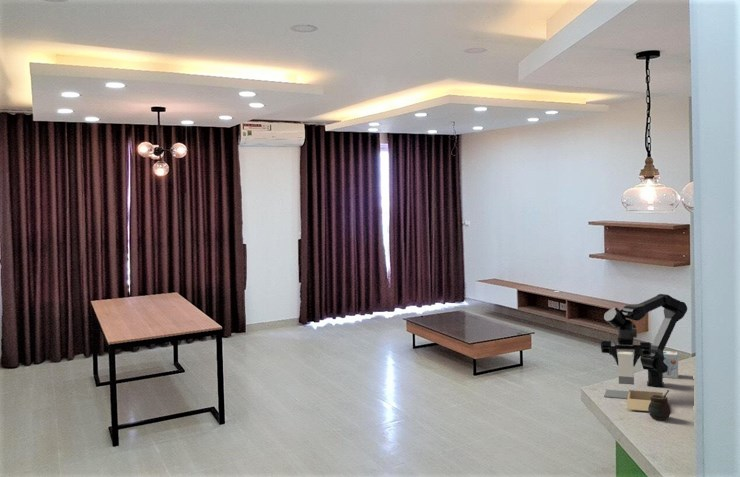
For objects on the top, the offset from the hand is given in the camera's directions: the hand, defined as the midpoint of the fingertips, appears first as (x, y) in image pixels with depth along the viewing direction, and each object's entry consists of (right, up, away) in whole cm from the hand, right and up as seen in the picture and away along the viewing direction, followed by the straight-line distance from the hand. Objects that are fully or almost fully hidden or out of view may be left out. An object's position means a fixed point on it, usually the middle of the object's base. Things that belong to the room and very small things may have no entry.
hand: (625, 365), depth 243 cm
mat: (-1, -13, +6) cm, 15 cm away
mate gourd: (+2, -14, -24) cm, 28 cm away
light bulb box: (+31, -12, +32) cm, 46 cm away
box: (+1, -7, +1) cm, 7 cm away
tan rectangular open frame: (+4, -13, -8) cm, 16 cm away
